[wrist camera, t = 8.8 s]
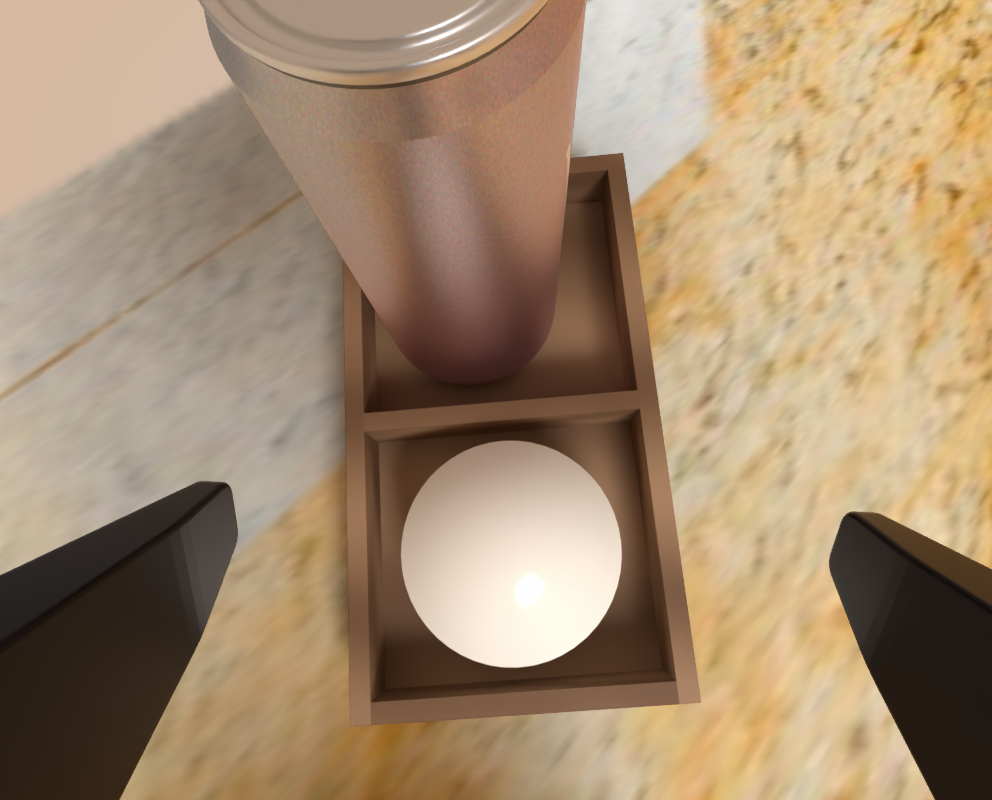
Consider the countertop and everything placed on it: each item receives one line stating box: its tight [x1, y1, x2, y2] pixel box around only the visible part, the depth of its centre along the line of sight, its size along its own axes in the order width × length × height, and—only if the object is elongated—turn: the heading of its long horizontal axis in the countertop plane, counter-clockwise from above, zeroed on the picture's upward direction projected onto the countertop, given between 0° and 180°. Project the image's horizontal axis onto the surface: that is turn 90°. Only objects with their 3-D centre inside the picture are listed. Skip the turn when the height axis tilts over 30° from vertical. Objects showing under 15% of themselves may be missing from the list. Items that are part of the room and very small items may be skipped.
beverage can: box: [199, 0, 586, 385], centre depth 16 cm, size 6×6×15 cm
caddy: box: [343, 153, 701, 727], centre depth 22 cm, size 18×10×3 cm, turn 4°
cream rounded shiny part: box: [401, 441, 622, 668], centre depth 20 cm, size 6×6×3 cm
